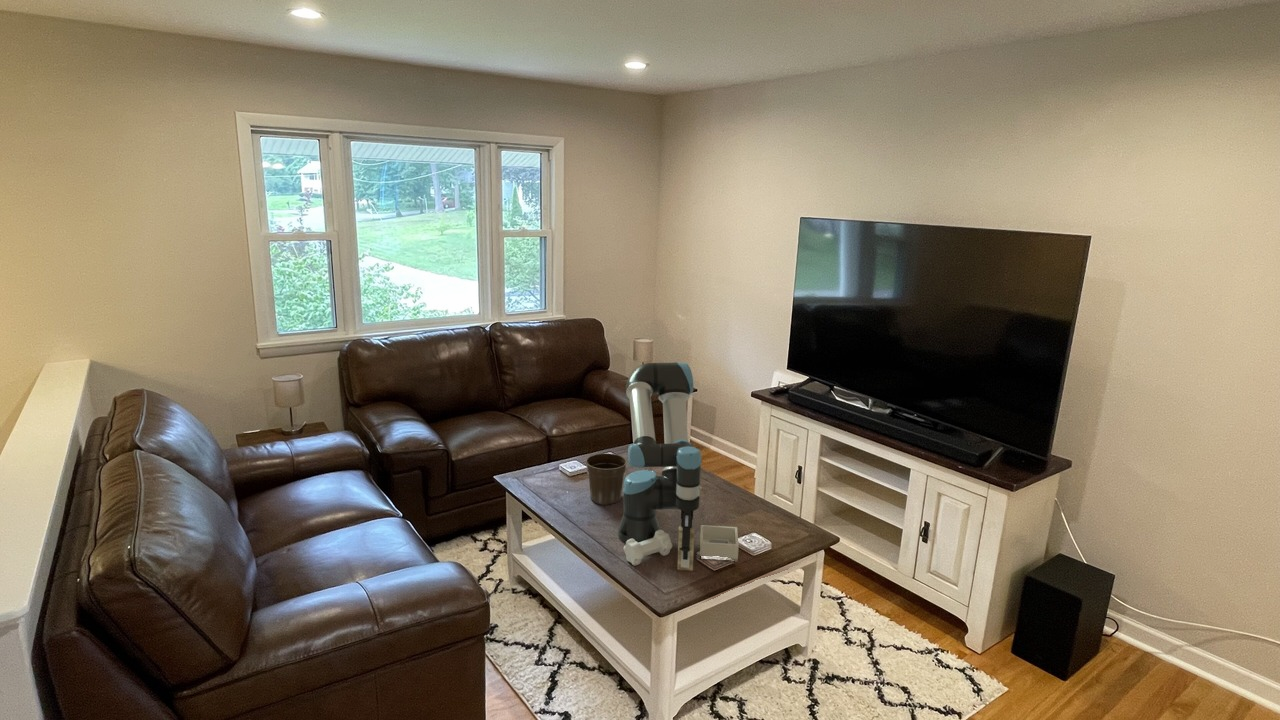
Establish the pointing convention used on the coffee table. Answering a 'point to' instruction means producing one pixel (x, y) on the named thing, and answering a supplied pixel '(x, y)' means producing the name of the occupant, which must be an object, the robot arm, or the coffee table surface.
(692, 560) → the wooden wick block
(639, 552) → the dog bone
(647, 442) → the robot arm
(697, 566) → the coffee table surface
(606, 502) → the plant pot
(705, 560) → the coffee table surface
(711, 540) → the open rectangular box
